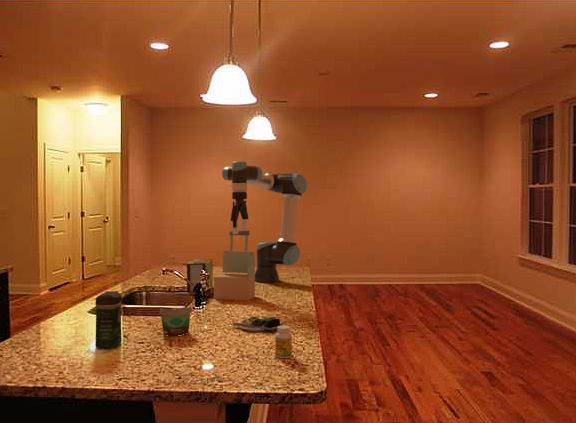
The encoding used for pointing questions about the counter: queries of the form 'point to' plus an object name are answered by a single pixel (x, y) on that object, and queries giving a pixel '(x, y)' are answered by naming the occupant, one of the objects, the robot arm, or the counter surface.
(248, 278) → the carton
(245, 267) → the flap
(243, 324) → the salad plate
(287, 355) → the supplement bottle
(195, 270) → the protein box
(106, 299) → the coffee jar
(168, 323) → the food container
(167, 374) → the counter surface
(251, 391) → the counter surface
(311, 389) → the counter surface
